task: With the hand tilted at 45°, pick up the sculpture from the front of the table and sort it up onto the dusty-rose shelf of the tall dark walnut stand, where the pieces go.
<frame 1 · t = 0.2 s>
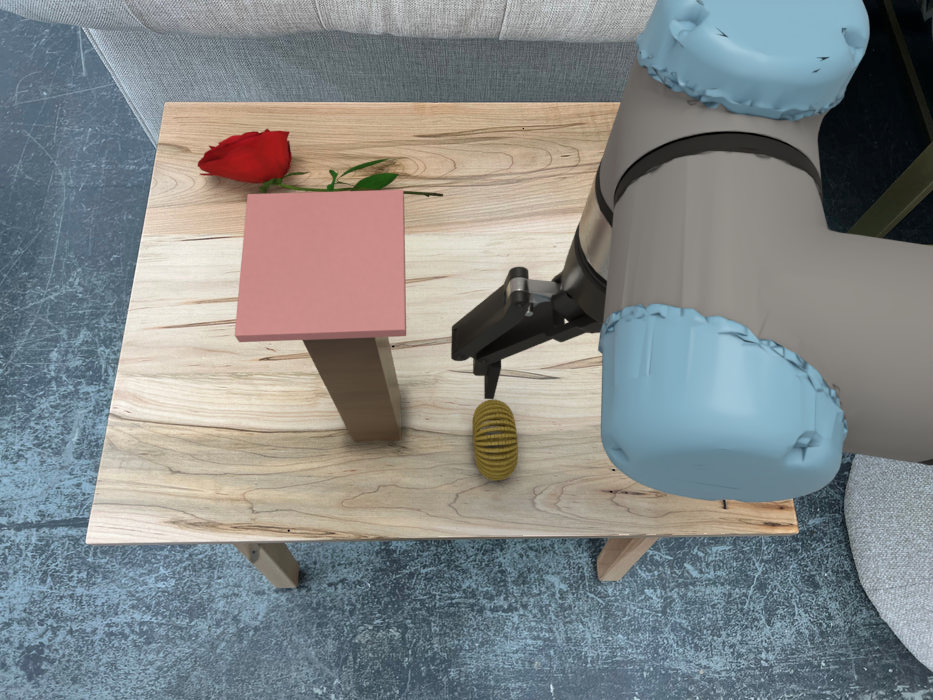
hand: (570, 386, 57), 17 cm above the table, tool pointing down, fingers open, 13 cm apart
stand post: (377, 418, 73), on the table
flower: (325, 192, 84), on the table
sculpture: (492, 450, 72), on the table
rose shelf: (325, 267, 43), resting on stand post
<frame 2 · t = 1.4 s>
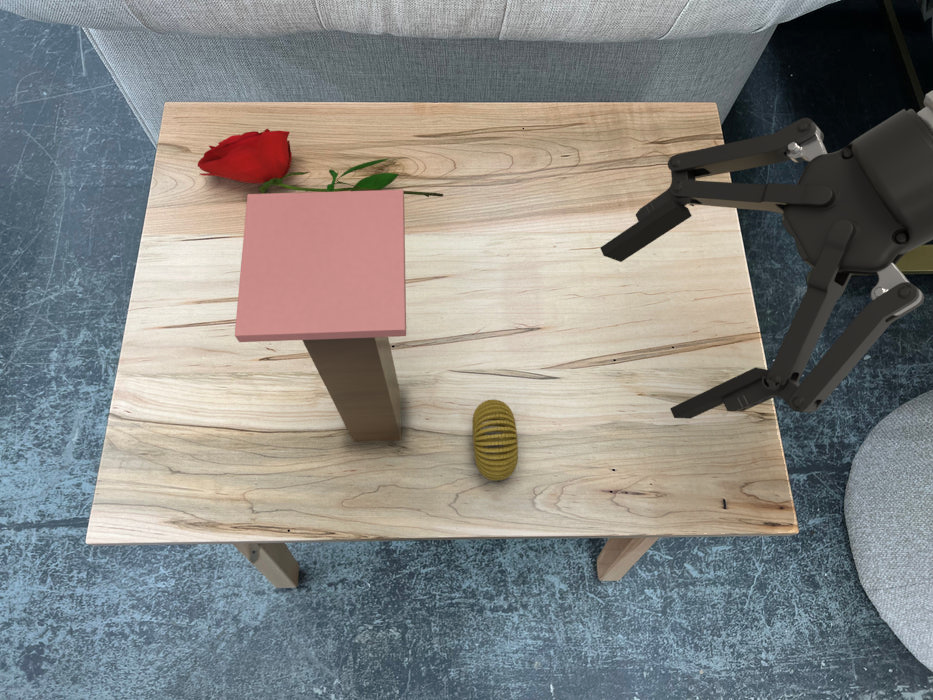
hand: (643, 330, 51), 23 cm above the table, tool tilted 45°, fingers open, 13 cm apart
nothing on the table moved.
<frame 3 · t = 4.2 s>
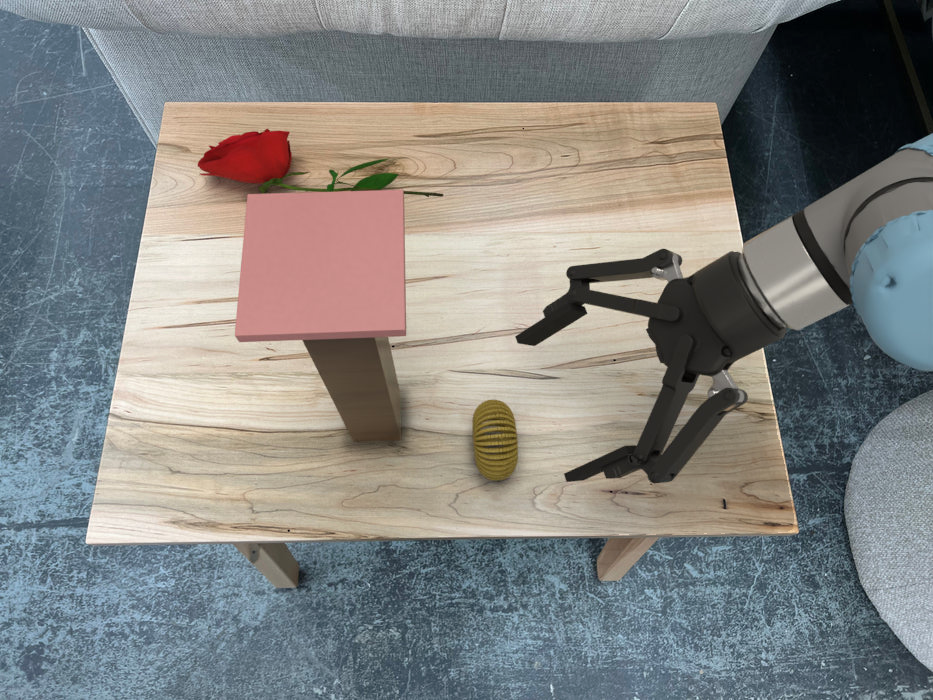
hand: (547, 406, 63), 10 cm above the table, tool tilted 45°, fingers open, 13 cm apart
nothing on the table moved.
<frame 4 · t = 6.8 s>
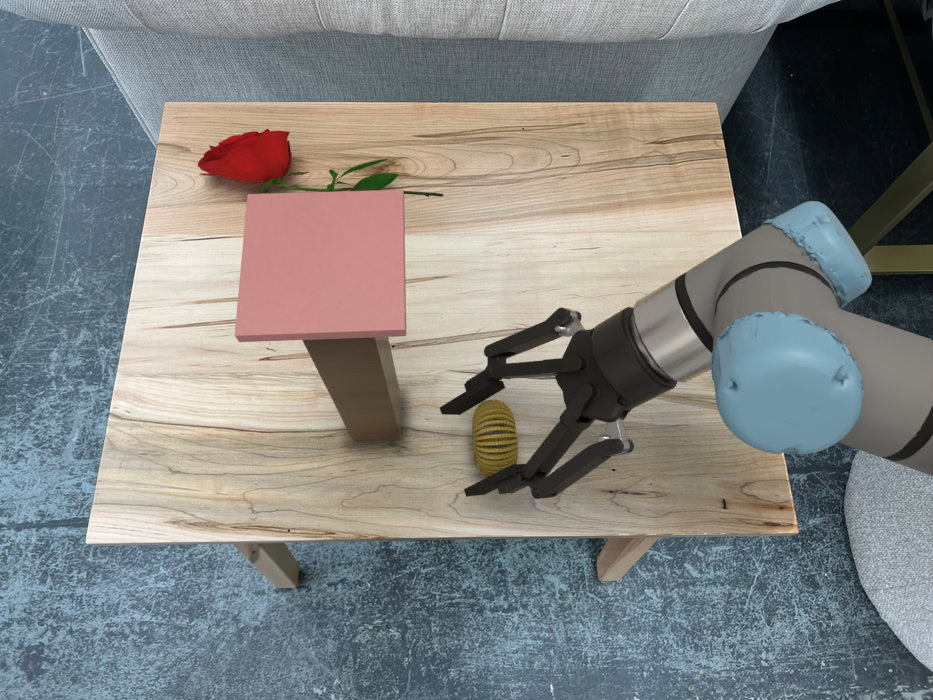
hand: (461, 450, 68), 4 cm above the table, tool tilted 45°, fingers closed on sculpture, 8 cm apart
sculpture: (492, 450, 72), on the table, touching gripper
everything else where it was.
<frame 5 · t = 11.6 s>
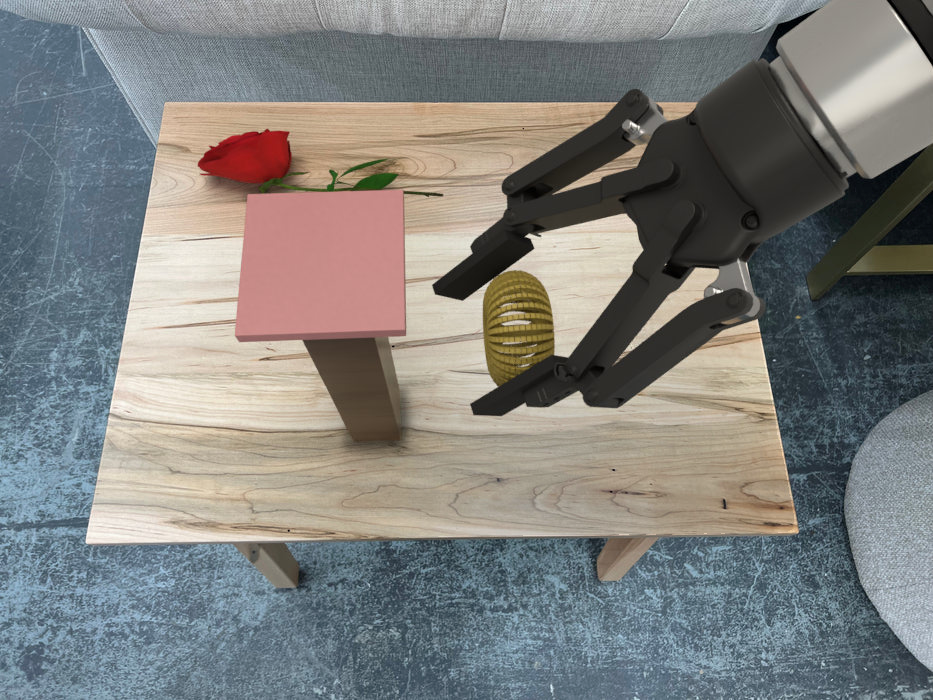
hand: (466, 349, 44), 30 cm above the table, tool tilted 45°, fingers closed on sculpture, 8 cm apart
sculpture: (511, 357, 48), point 26 cm above the table, touching gripper
everything else where it was.
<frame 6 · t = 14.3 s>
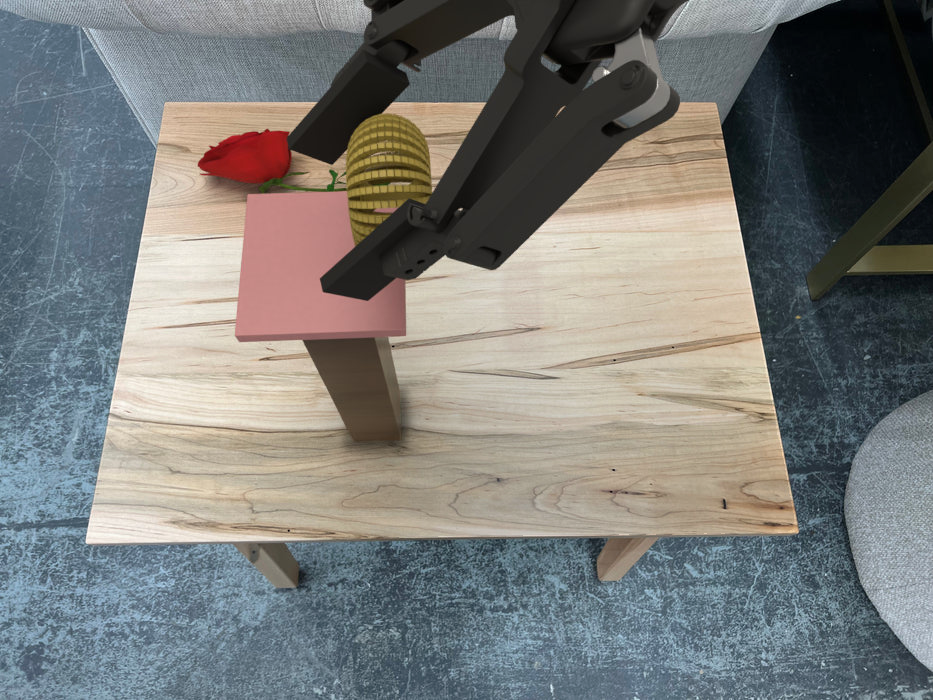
hand: (326, 217, 34), 41 cm above the table, tool tilted 45°, fingers closed on sculpture, 8 cm apart
sculpture: (398, 241, 38), point 37 cm above the table, touching gripper
everything else where it was.
when the fingers open (37 cm above the table, at t = 16.5 s): sculpture stays where it is, resting on rose shelf.
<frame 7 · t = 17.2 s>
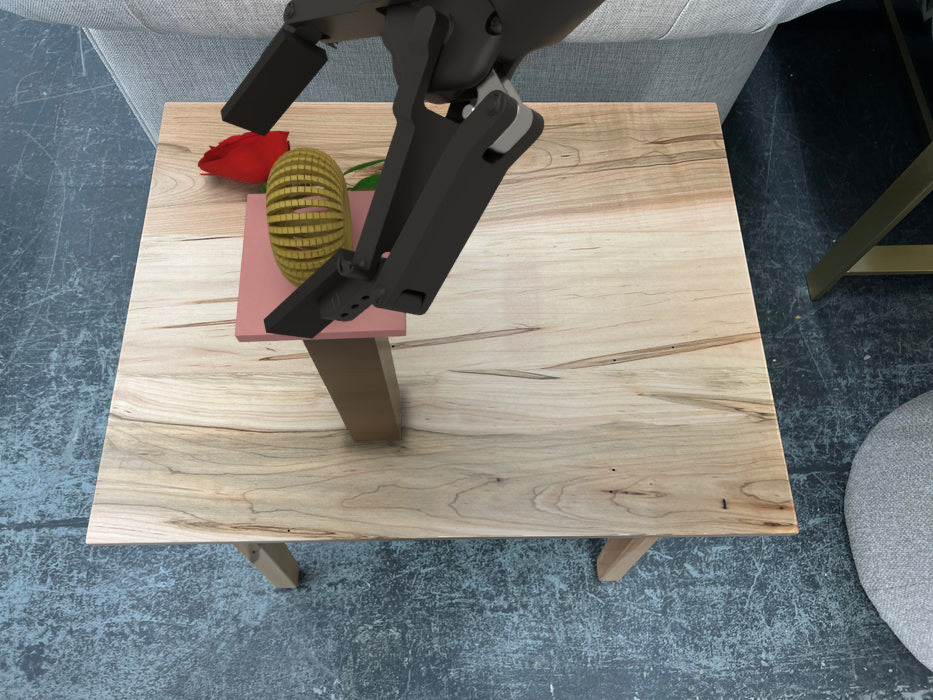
hand: (263, 220, 37), 38 cm above the table, tool tilted 45°, fingers open, 13 cm apart
sculpture: (324, 259, 42), point 33 cm above the table, touching rose shelf
everything else where it was.
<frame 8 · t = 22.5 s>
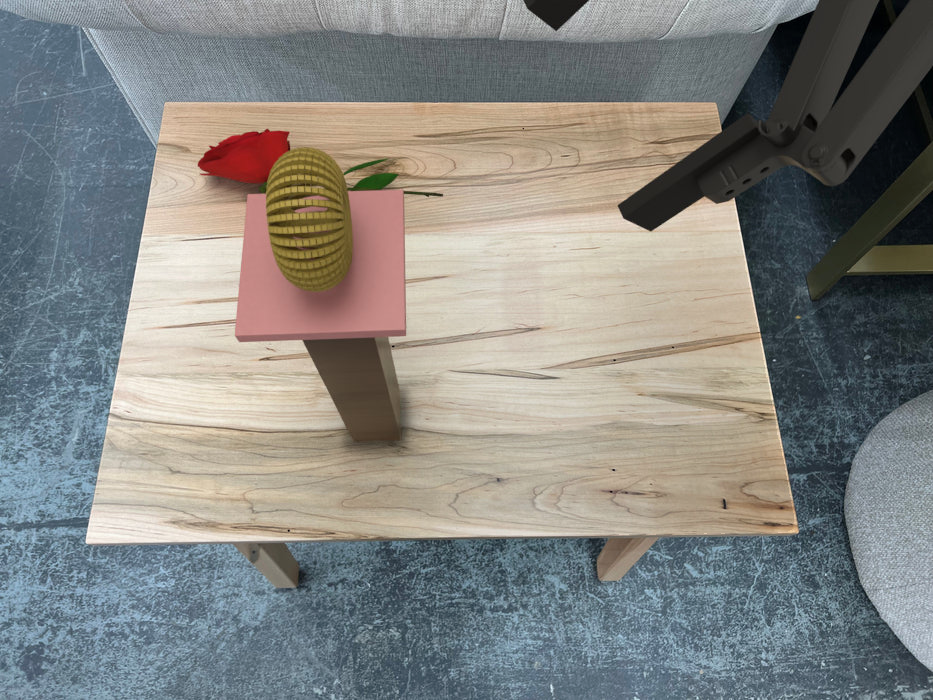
hand: (583, 110, 35), 43 cm above the table, tool tilted 45°, fingers open, 13 cm apart
nothing on the table moved.
at the end: sculpture inside the target area on the rose shelf (0.1 cm from its centre), point 0.8 cm above the rose shelf's base; sculpture tilted 0°; the gripper is holding nothing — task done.
